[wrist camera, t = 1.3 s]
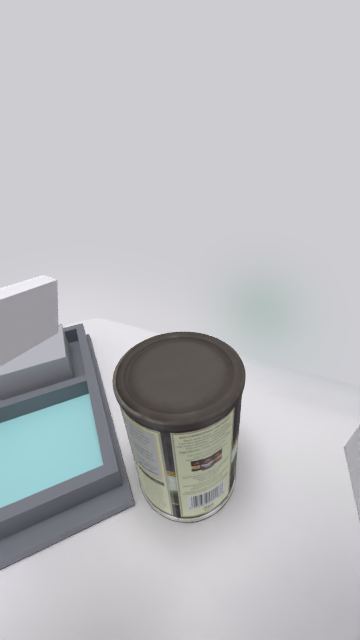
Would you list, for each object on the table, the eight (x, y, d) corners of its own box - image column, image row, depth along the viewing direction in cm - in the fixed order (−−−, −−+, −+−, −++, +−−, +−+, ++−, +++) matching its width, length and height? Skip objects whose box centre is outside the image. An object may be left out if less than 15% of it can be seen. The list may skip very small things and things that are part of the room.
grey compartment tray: (90, 338, 50) (82, 310, 47) (134, 504, 26) (124, 470, 23) (-9, 365, 45) (-25, 335, 42) (-65, 600, 21) (-113, 574, 18)
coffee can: (182, 411, 35) (175, 318, 28) (254, 461, 29) (270, 360, 22) (117, 472, 29) (85, 374, 21) (192, 553, 23) (184, 456, 15)
